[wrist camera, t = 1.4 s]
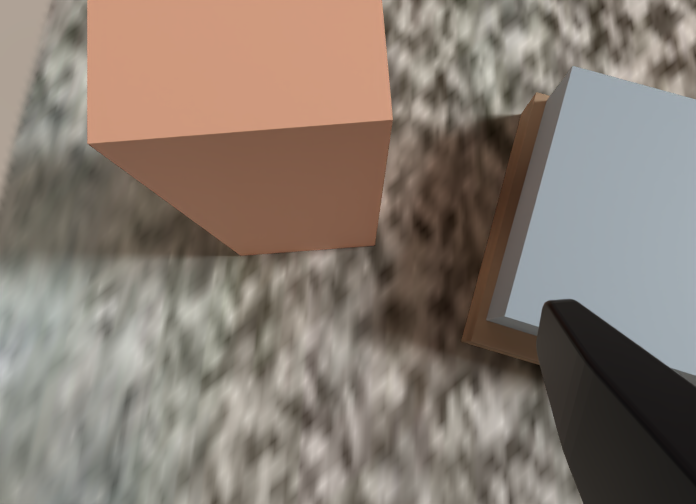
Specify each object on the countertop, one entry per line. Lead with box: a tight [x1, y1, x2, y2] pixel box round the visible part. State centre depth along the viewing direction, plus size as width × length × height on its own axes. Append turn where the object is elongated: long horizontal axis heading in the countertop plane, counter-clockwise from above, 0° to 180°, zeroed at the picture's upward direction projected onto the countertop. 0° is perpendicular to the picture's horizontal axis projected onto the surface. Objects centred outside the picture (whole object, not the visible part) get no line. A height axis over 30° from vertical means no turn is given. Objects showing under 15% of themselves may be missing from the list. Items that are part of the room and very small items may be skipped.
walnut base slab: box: [461, 92, 696, 386], centre depth 20 cm, size 9×9×2 cm
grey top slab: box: [486, 66, 696, 385], centre depth 18 cm, size 8×8×2 cm
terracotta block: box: [87, 0, 393, 256], centre depth 16 cm, size 5×5×12 cm
